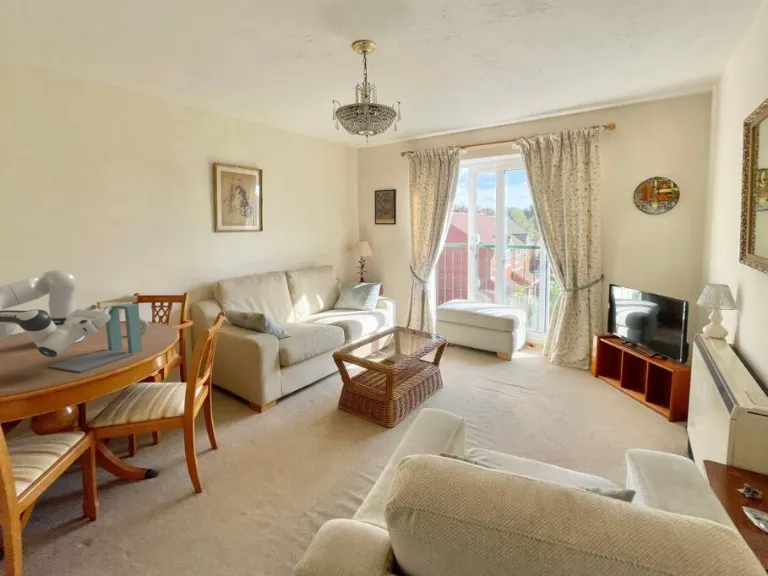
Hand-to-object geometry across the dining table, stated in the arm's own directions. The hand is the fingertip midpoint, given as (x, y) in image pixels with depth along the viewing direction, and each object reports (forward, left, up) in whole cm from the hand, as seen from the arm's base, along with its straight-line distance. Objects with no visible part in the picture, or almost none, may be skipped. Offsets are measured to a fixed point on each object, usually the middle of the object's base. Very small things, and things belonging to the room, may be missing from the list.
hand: (102, 306), depth 187 cm
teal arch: (0, +10, -25) cm, 27 cm away
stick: (0, +8, -1) cm, 8 cm away
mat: (0, -7, -25) cm, 26 cm away
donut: (-20, +35, -25) cm, 48 cm away
